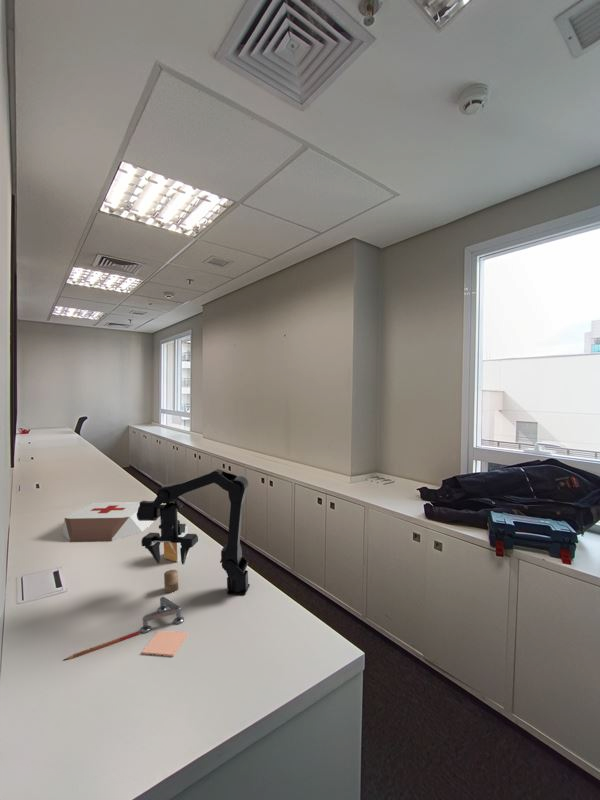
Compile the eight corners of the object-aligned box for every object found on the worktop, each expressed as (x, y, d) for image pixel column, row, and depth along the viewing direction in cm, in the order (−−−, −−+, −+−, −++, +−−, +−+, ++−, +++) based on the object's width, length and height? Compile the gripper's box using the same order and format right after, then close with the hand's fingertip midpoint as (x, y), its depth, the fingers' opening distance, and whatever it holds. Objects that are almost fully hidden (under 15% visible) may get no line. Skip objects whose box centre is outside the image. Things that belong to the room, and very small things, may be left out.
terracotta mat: (188, 634, 109) (188, 632, 109) (173, 656, 100) (173, 654, 100) (159, 632, 110) (158, 630, 110) (141, 653, 101) (141, 652, 101)
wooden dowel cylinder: (180, 586, 135) (180, 570, 135) (174, 593, 131) (174, 576, 131) (168, 585, 136) (168, 569, 136) (162, 592, 132) (161, 575, 131)
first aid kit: (133, 541, 177) (133, 520, 177) (48, 543, 178) (47, 522, 178) (161, 516, 211) (160, 499, 211) (89, 517, 212) (88, 500, 211)
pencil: (139, 633, 110) (139, 630, 110) (139, 635, 109) (139, 632, 109) (62, 661, 100) (62, 657, 100) (62, 663, 99) (62, 659, 99)
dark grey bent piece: (192, 608, 121) (192, 596, 121) (173, 635, 108) (172, 621, 108) (160, 606, 123) (160, 594, 123) (138, 633, 110) (137, 618, 110)
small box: (163, 558, 158) (162, 528, 157) (175, 552, 163) (174, 523, 163) (177, 562, 154) (176, 531, 153) (189, 556, 159) (188, 526, 159)
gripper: (203, 512, 139) (204, 554, 140) (156, 512, 142) (157, 552, 142) (190, 524, 128) (192, 568, 129) (139, 522, 131) (141, 566, 131)
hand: (170, 563), depth 133 cm, fingers open, 9 cm apart
